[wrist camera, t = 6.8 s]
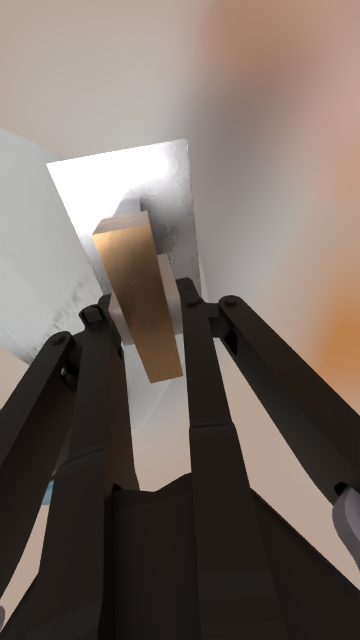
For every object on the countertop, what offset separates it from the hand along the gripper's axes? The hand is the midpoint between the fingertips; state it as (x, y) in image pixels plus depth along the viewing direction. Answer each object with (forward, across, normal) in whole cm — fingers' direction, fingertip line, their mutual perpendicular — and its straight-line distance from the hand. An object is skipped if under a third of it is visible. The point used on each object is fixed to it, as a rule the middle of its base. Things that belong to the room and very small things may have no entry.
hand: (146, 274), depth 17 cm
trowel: (+4, 0, 0) cm, 4 cm away
